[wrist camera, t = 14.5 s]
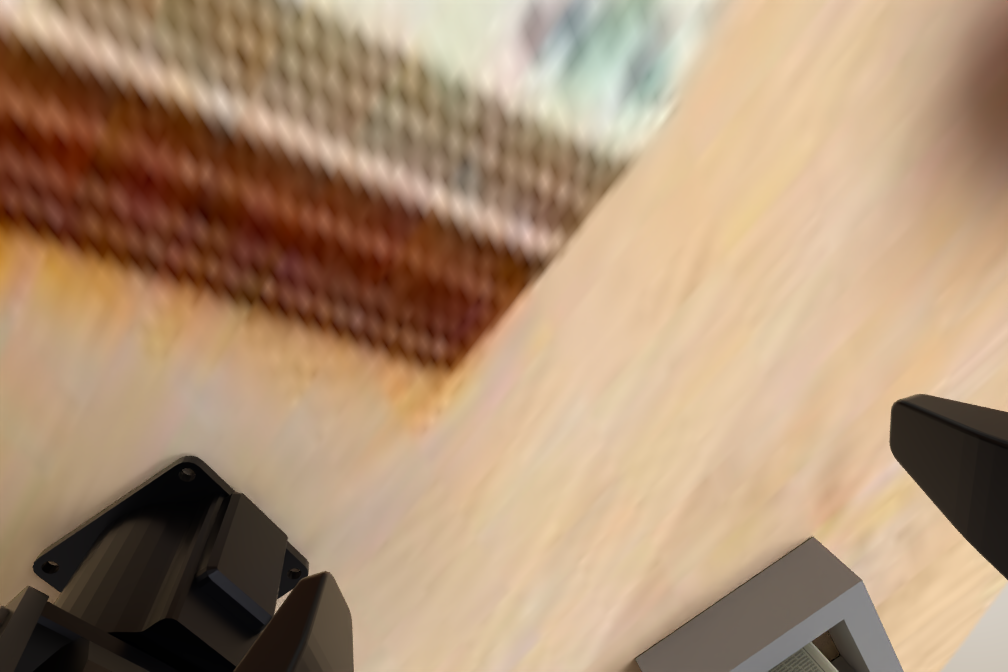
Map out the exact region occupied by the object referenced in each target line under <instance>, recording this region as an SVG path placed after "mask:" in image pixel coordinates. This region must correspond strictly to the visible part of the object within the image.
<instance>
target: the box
mask: <svg viewBox="0 0 1008 672" xmlns="http://www.w3.org/2000/svg"><path fill="white" fill-rule="evenodd" d="M768 672H839V671H838V670H837V669H836V668H835V667H834V666H833V665H832V664H831V663H830V662H829V660H828V659H827V658H826V657H825V656H824V655H823V654H822V653H821V652H820V651H819V650H818V648H817V647H816V646H815V645H814V644H813V643H812V642H810V643H808V644H807V645H805V646H804V647H803V648H801V649H800V650H798V651H797V652H795V653H794V654H792V655H791V656H789V657H788V658H787V659H785V660H784V661H782V662H781V663H779V664H778V665H776V666H775V667H773V668H772V669H771V670H769V671H768Z"/></svg>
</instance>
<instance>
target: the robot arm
mask: <svg viewBox="0 0 1008 672" xmlns="http://www.w3.org/2000/svg"><path fill="white" fill-rule="evenodd" d="M890 448H891V451H892V453H893V455H894V457H895V458H896V460H897V461H898V462H899V463H900V465H901V466H902V467H903V468H904V469H905V470H906V471H907V473H908V474H909V475H910V476H911V477H912V478H913V480H914V481H915V482H916V483H917V484H918V485H919V486H920V488H921V489H922V490H923V491H924V492H925V493H926V495H927V496H928V497H929V498H930V499H931V500H932V501H933V503H934V504H935V505H936V506H937V507H938V508H939V510H940V511H941V512H942V513H943V514H944V515H945V516H946V518H947V519H948V520H949V521H950V522H951V523H952V525H953V526H954V527H955V528H956V529H957V530H958V531H959V532H960V533H961V534H962V535H963V537H964V538H965V539H966V540H967V541H968V542H969V543H970V544H971V545H972V546H973V547H974V548H975V549H976V550H977V551H978V552H979V553H980V554H981V555H982V556H983V557H984V558H985V559H986V560H987V561H988V562H989V563H991V564H992V565H993V566H994V567H995V568H996V569H997V570H998V571H999V572H1000V573H1001V574H1002V575H1003V576H1004V577H1005V578H1006V579H1007V580H1008V412H1004V411H1000V410H995V409H990V408H986V407H981V406H977V405H972V404H967V403H963V402H958V401H953V400H949V399H944V398H940V397H935V396H930V395H925V394H917V395H913V396H910V397H907V398H903V399H900V400H897V401H896V402H894V404H893V406H892V408H891V422H890ZM185 468H187V469H191V470H193V471H194V472H195V474H194V475H187V474H185V473H184V472H183V471H182V469H185ZM287 539H288V537H287V535H286V534H285V533H284V532H283V531H282V530H281V529H280V528H279V527H277V526H276V525H275V524H274V523H273V522H272V521H271V520H270V519H269V518H268V517H267V516H266V515H265V514H264V513H263V512H262V511H261V510H260V509H259V508H258V507H257V506H256V505H254V504H253V503H252V502H251V501H250V500H249V499H248V498H247V497H246V496H245V495H244V494H242V493H238V492H235V491H234V490H233V489H232V488H231V487H230V486H229V485H228V484H227V483H226V482H225V481H224V480H222V479H221V478H220V477H219V476H218V475H217V474H216V473H215V472H214V471H213V470H212V469H211V468H210V467H209V466H208V465H207V464H206V463H205V462H204V461H202V460H201V459H199V458H198V457H194V456H185V457H183V458H180V459H179V460H177V461H176V462H174V463H173V464H171V465H170V466H168V467H167V468H165V469H164V470H162V471H161V472H159V473H158V474H156V475H155V476H153V477H152V478H151V479H149V480H148V481H146V482H145V483H143V484H142V485H140V486H139V487H137V488H136V489H134V490H133V491H131V492H130V493H128V494H127V495H125V496H124V497H122V498H121V499H119V500H118V501H116V502H115V503H114V504H112V505H111V506H109V507H108V508H106V509H105V510H103V511H102V512H100V513H99V514H97V515H96V516H94V517H93V518H91V519H90V520H88V521H87V522H85V523H84V524H82V525H81V526H79V527H78V528H76V529H75V530H74V531H72V532H71V533H69V534H68V535H66V536H65V537H63V538H62V539H60V540H59V541H57V542H56V543H54V544H53V545H51V546H50V547H48V548H47V549H45V550H44V551H43V552H42V553H41V554H40V555H39V557H38V558H37V559H36V561H35V562H34V565H33V570H34V572H35V573H36V574H37V575H38V576H39V577H40V578H41V579H43V580H44V581H46V582H47V583H48V584H50V585H51V586H52V587H54V588H55V589H57V590H58V591H59V592H61V594H60V595H59V597H58V599H57V600H56V602H55V603H54V605H53V604H51V603H50V602H48V601H47V600H48V598H49V596H47V595H46V594H44V593H42V592H40V591H38V590H36V589H34V588H32V587H31V586H27V587H26V588H25V589H24V590H23V591H22V592H20V593H19V594H18V595H17V596H16V597H15V598H14V599H13V600H12V601H11V602H10V603H8V604H7V605H6V606H5V607H4V606H0V672H354V664H353V634H352V619H351V614H350V610H349V608H348V605H347V603H346V601H345V599H344V597H343V595H342V593H341V591H340V589H339V587H338V585H337V583H336V581H335V579H334V577H333V576H332V574H331V573H330V572H326V571H325V572H321V573H317V574H314V575H311V576H308V572H309V562H308V561H307V559H306V558H305V557H304V556H303V555H301V554H300V553H299V552H298V551H297V550H296V549H295V548H294V547H293V546H292V545H291V544H290V543H289V542H288V541H287ZM48 561H53V562H55V563H57V564H58V565H59V566H54V565H51V564H50V563H49V562H48ZM293 568H297V569H299V570H300V571H298V572H292V571H290V569H293ZM293 588H294V589H293ZM292 589H293V590H292ZM290 590H292V591H291V593H290V594H289V596H288V597H287V598H286V600H285V601H284V602H283V604H282V605H281V607H280V608H279V609H278V611H277V612H276V613H275V607H276V602H277V599H279V598H280V597H281V596H283V595H284V594H286V593H287V592H289V591H290ZM274 613H275V615H274Z"/></svg>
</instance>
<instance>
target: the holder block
mask: <svg viewBox="0 0 1008 672" xmlns="http://www.w3.org/2000/svg"><path fill="white" fill-rule="evenodd" d="M827 630H828V632H829V634H830V636H831V638H832V640H833V642H834V643H835V645H836V647H837V649H838V651H839V653H840V655H841V656H839V657H838V658H837V659H835V660H834V661H832V662H831V664H832V665H833V666H834V667H835V668H836V669H837V670H838V671H839V672H904V671H903V669H902V667H901V665H900V663H899V660H898V658H897V656H896V654H895V651H894V649H893V647H892V645H891V643H890V640H889V638H888V636H887V634H886V632H885V629H884V627H883V625H882V623H881V621H880V618H879V616H878V614H877V612H876V610H875V607H874V605H873V603H872V601H871V598H870V596H869V594H868V592H867V590H866V587H865V585H864V583H863V581H862V580H861V579H860V578H859V577H858V576H857V575H856V574H855V573H854V572H852V571H851V570H850V569H849V568H848V567H847V566H846V565H845V564H843V563H842V562H841V561H840V560H839V559H838V558H837V557H836V556H834V555H833V554H832V553H831V552H830V551H829V550H828V549H827V548H825V547H824V546H823V545H822V544H821V543H820V542H819V541H818V540H816V539H815V538H814V537H812V538H811V539H809V540H808V541H806V542H805V543H803V544H802V545H800V546H799V547H798V548H796V549H795V550H793V551H792V552H790V553H789V554H787V555H786V556H784V557H783V558H782V559H780V560H779V561H777V562H776V563H774V564H773V565H771V566H770V567H768V568H767V569H765V570H764V571H763V572H761V573H760V574H758V575H757V576H755V577H754V578H752V579H751V580H749V581H748V582H746V583H745V584H744V585H742V586H741V587H739V588H738V589H736V590H735V591H733V592H732V593H730V594H729V595H728V596H726V597H725V598H723V599H722V600H720V601H719V602H717V603H716V604H714V605H713V606H711V607H710V608H709V609H707V610H706V611H704V612H703V613H701V614H700V615H698V616H697V617H695V618H694V619H692V620H691V621H690V622H688V623H687V624H685V625H684V626H682V627H681V628H679V629H678V630H676V631H675V632H674V633H672V634H671V635H669V636H668V637H666V638H665V639H663V640H662V641H660V642H659V643H657V644H656V645H655V646H653V647H652V648H650V649H649V650H647V651H646V652H644V653H643V654H641V655H640V656H638V657H637V658H636V659H635V660H636V662H637V663H638V665H639V667H640V669H641V671H642V672H768V671H769V670H771V669H772V668H773V667H775V666H776V665H778V664H779V663H781V662H782V661H784V660H785V659H787V658H788V657H789V656H791V655H792V654H794V653H795V652H797V651H798V650H800V649H801V648H803V647H804V646H805V645H807V644H808V643H810V642H811V641H813V640H814V639H816V638H817V637H819V636H820V635H821V634H823V633H824V632H826V631H827Z"/></svg>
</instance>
